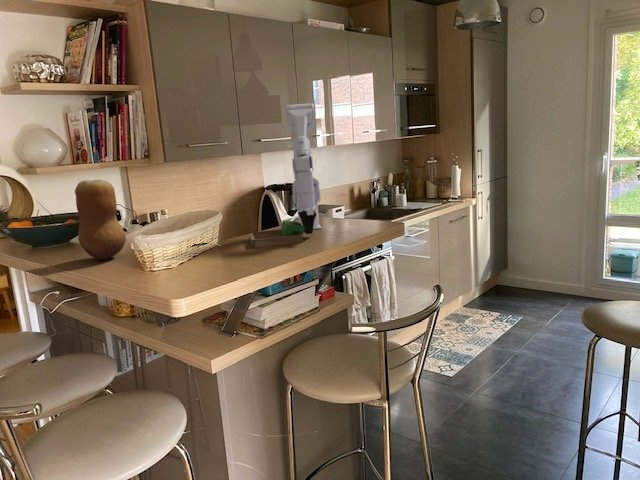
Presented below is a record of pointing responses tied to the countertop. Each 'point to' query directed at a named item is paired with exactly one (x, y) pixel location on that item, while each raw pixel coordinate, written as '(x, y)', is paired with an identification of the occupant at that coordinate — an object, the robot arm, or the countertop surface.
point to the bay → (272, 238)
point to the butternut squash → (98, 219)
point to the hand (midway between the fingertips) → (308, 233)
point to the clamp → (291, 228)
